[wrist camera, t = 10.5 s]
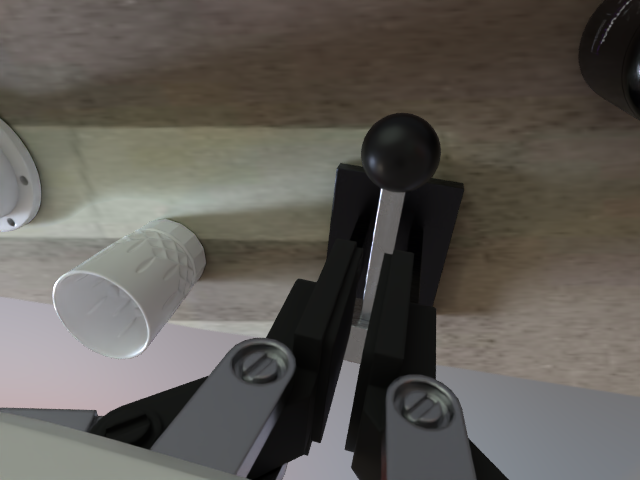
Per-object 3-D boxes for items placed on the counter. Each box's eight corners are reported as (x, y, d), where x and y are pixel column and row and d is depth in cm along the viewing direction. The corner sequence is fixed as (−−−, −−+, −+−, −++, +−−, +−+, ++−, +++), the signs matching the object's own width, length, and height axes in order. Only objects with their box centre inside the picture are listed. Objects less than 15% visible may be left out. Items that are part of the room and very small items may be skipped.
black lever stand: (340, 162, 32) (289, 241, 21) (463, 183, 31) (477, 279, 20) (324, 293, 38) (278, 408, 27) (427, 315, 37) (423, 446, 26)
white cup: (194, 206, 37) (121, 266, 29) (224, 284, 40) (166, 358, 32) (120, 218, 40) (33, 275, 31) (154, 290, 43) (83, 360, 34)
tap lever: (372, 98, 20) (360, 121, 17) (449, 109, 19) (449, 134, 16) (342, 323, 27) (330, 364, 25) (395, 335, 27) (389, 378, 24)
